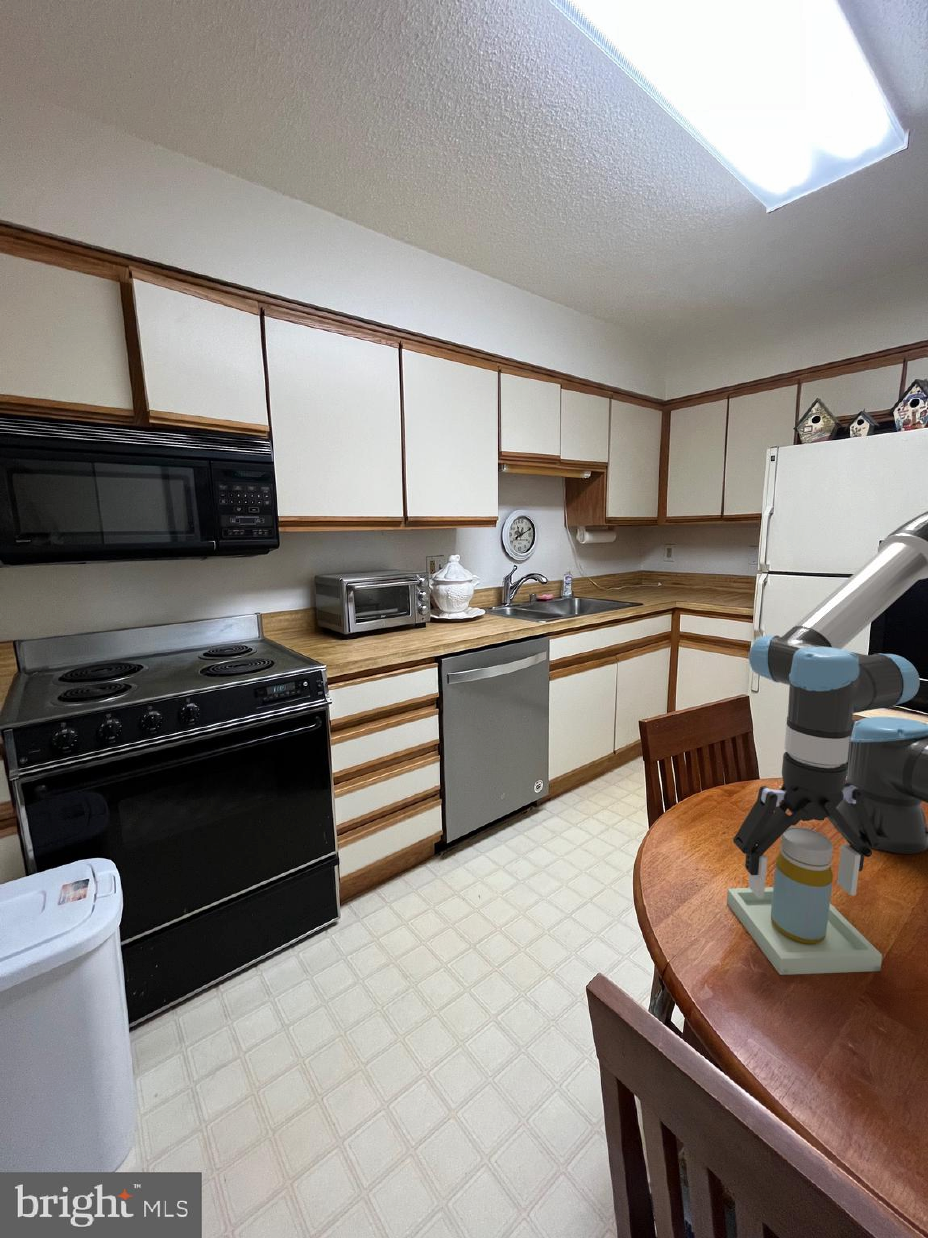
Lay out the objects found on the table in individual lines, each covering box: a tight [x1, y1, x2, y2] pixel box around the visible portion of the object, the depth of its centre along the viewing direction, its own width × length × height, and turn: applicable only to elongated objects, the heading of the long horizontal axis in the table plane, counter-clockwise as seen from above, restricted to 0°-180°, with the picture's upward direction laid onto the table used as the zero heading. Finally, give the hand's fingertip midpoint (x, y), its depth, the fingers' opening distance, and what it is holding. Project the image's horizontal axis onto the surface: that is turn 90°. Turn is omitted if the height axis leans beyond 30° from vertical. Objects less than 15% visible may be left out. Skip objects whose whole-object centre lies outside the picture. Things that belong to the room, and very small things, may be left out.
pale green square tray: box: [726, 886, 883, 976], centre depth 78 cm, size 14×14×2 cm
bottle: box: [771, 826, 834, 944], centre depth 77 cm, size 7×7×15 cm
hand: (801, 891), depth 77 cm, fingers open, 13 cm apart
